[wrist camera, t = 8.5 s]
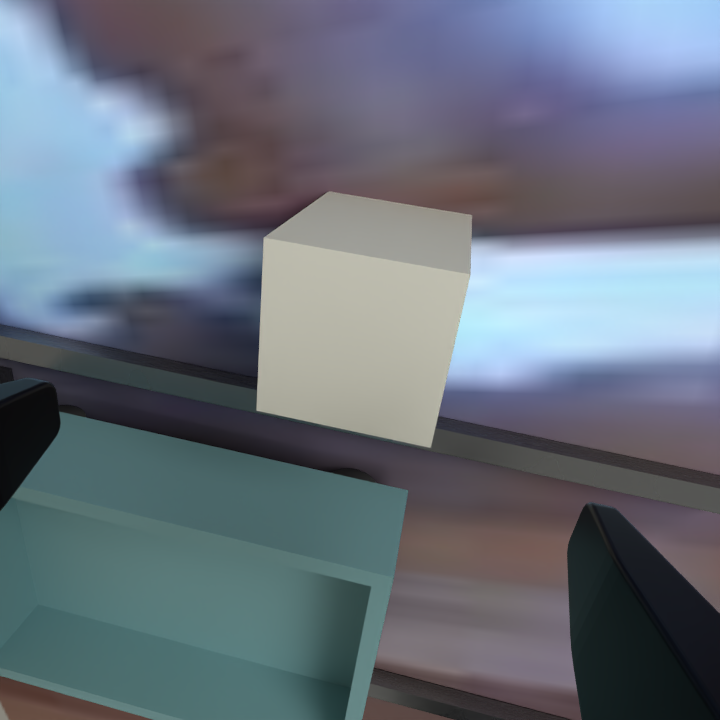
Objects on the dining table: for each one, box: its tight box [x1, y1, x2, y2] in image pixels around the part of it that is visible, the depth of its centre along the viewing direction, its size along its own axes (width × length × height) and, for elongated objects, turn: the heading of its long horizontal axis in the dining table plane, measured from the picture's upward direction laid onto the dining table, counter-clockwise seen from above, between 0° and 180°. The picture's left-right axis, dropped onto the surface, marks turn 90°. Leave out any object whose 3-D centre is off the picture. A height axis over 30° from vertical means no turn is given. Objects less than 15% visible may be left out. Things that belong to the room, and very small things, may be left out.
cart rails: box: [0, 325, 720, 720], centre depth 23 cm, size 16×29×2 cm, turn 83°
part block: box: [256, 192, 472, 448], centre depth 15 cm, size 4×4×6 cm
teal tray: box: [0, 405, 408, 720], centre depth 22 cm, size 11×16×5 cm
